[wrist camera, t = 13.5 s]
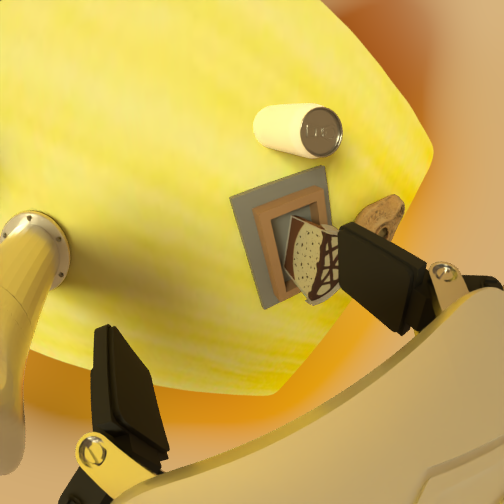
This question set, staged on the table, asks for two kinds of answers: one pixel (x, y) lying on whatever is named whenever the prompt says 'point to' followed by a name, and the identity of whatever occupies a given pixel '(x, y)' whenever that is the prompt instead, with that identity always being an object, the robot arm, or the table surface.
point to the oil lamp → (382, 216)
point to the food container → (312, 259)
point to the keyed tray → (278, 226)
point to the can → (299, 129)
